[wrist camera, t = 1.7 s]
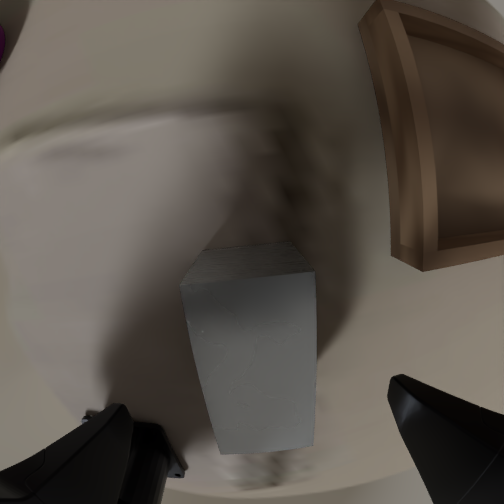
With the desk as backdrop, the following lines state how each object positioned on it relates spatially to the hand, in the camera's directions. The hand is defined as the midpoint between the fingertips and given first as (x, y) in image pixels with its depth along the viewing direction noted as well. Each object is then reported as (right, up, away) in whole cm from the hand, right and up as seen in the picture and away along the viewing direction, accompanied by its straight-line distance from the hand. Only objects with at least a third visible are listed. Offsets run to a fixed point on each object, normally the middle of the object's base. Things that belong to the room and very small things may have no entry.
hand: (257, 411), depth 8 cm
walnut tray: (+13, +12, +4) cm, 18 cm away
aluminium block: (0, +1, +6) cm, 6 cm away
